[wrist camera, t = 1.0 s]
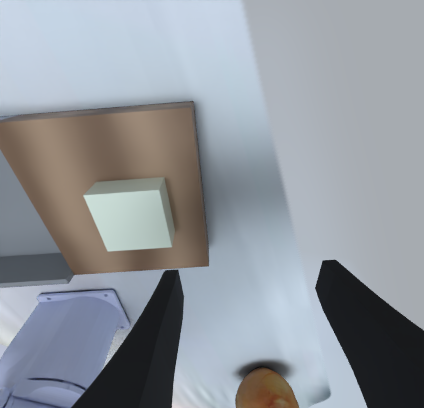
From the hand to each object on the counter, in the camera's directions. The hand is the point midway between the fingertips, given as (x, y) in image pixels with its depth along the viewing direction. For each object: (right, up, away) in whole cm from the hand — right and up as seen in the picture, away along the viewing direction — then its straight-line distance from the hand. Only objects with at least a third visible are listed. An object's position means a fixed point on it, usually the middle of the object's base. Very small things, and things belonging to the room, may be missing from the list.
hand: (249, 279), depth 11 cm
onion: (+7, -26, +29) cm, 40 cm away
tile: (-8, +3, +6) cm, 11 cm away
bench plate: (-9, +5, +9) cm, 14 cm away
